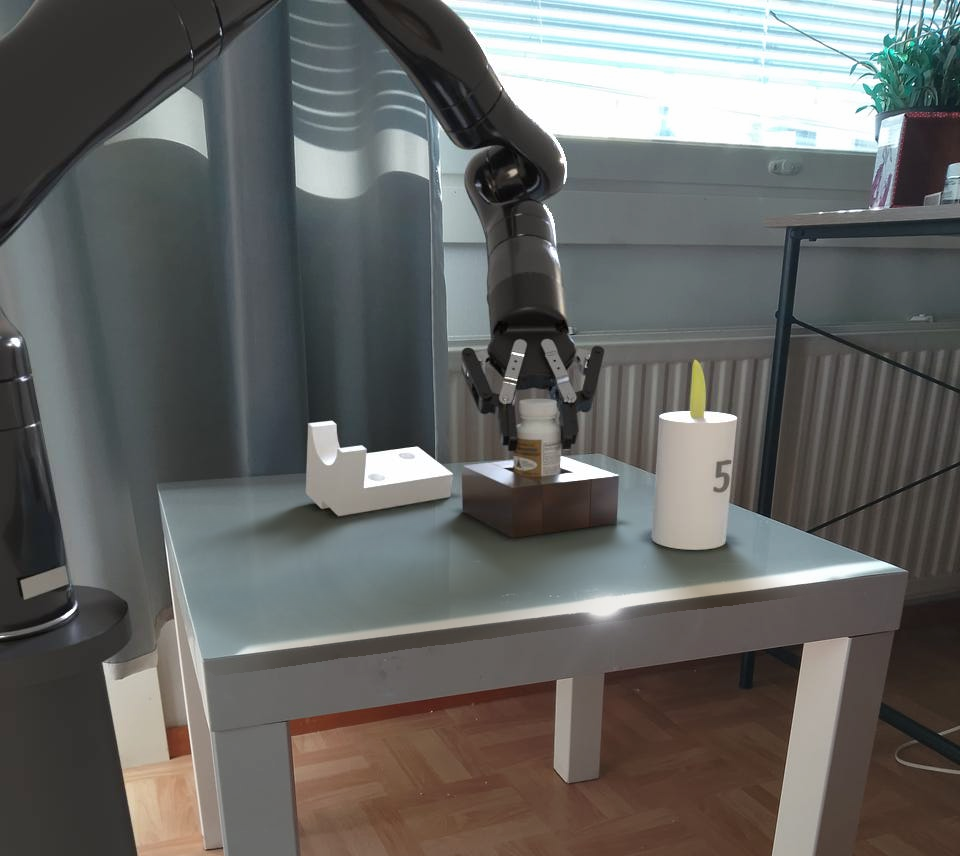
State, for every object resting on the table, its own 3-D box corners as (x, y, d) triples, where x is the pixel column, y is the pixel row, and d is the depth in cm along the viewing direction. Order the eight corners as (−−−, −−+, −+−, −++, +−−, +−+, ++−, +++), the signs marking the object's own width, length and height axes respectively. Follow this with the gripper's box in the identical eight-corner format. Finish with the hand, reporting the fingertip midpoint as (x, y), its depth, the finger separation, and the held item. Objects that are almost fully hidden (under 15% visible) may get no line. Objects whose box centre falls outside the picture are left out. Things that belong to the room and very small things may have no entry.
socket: (512, 538, 82) (512, 487, 80) (462, 511, 91) (461, 465, 89) (617, 523, 86) (619, 475, 84) (559, 499, 95) (560, 455, 94)
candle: (690, 554, 77) (705, 366, 71) (636, 537, 82) (646, 359, 76) (743, 542, 80) (761, 360, 74) (688, 526, 85) (701, 355, 79)
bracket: (337, 524, 90) (342, 452, 86) (305, 493, 95) (308, 423, 90) (449, 505, 97) (458, 437, 93) (414, 476, 102) (421, 410, 97)
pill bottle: (503, 484, 88) (503, 400, 85) (537, 477, 90) (538, 396, 87) (535, 492, 85) (536, 405, 82) (569, 485, 87) (572, 400, 84)
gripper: (453, 270, 87) (462, 422, 80) (604, 268, 88) (625, 419, 81) (452, 326, 94) (460, 470, 87) (592, 324, 94) (610, 467, 88)
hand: (540, 444), depth 84 cm, fingers closed on pill bottle, 4 cm apart
